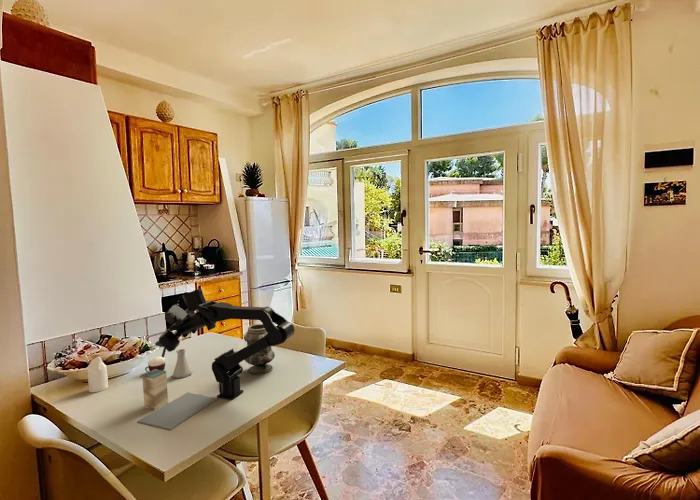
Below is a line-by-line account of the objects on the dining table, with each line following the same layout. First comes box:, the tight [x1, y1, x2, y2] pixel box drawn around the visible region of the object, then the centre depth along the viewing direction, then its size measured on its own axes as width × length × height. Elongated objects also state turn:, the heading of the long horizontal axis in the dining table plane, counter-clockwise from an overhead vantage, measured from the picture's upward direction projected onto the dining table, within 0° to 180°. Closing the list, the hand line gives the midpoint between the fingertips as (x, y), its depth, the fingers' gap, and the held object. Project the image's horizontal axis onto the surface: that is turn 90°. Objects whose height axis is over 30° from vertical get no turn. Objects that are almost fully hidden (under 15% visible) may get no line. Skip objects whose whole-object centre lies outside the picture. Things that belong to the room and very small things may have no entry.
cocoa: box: [144, 347, 167, 373], centre depth 153 cm, size 10×6×12 cm, turn 119°
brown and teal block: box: [141, 369, 169, 411], centre depth 125 cm, size 5×5×11 cm
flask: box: [171, 348, 194, 379], centre depth 149 cm, size 7×7×10 cm
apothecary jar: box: [243, 323, 276, 375], centre depth 152 cm, size 12×12×18 cm
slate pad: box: [136, 391, 219, 431], centre depth 122 cm, size 14×20×1 cm
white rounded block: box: [86, 356, 109, 393], centre depth 138 cm, size 6×12×6 cm
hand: (163, 336), depth 137 cm, fingers open, 9 cm apart
